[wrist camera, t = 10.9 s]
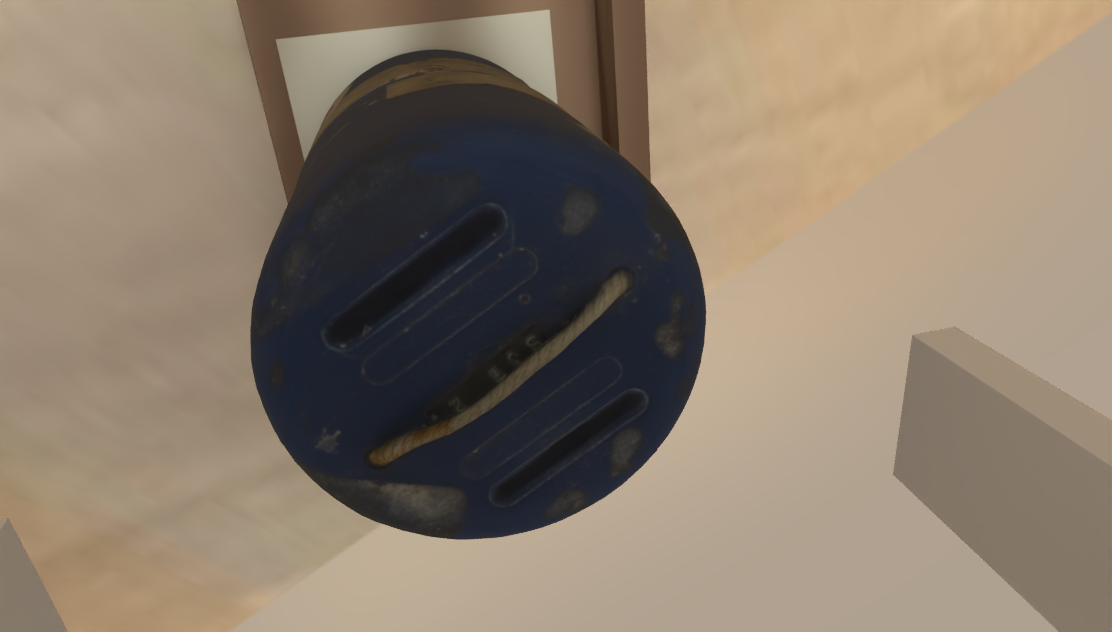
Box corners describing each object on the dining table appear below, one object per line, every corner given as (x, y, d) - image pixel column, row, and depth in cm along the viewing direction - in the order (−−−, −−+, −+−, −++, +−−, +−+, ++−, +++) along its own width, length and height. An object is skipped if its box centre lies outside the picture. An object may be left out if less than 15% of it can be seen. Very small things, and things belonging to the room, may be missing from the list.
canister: (587, 228, 32) (797, 482, 16) (383, 317, 32) (388, 668, 16) (502, 2, 27) (676, 37, 11) (265, 104, 27) (102, 285, 11)
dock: (329, 321, 34) (321, 377, 30) (249, -6, 28) (222, -2, 24) (618, 273, 37) (655, 318, 32) (601, -40, 30) (642, -44, 26)
